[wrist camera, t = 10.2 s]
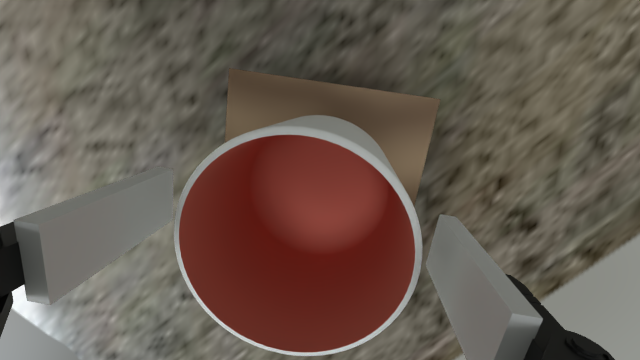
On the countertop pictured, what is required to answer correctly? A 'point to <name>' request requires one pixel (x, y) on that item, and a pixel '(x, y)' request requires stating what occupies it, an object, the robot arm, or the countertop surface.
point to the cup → (299, 237)
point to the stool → (337, 115)
